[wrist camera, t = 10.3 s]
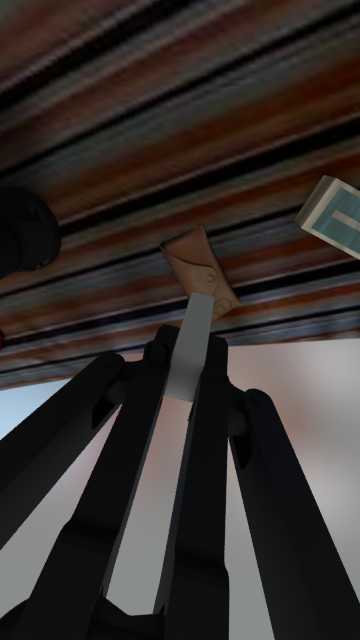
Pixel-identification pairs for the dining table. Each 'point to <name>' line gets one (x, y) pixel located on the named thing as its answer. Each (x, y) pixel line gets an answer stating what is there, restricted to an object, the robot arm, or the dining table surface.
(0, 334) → the pomegranate
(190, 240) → the sunglasses case
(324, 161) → the dining table surface
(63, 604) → the robot arm
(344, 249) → the cream and teal box
